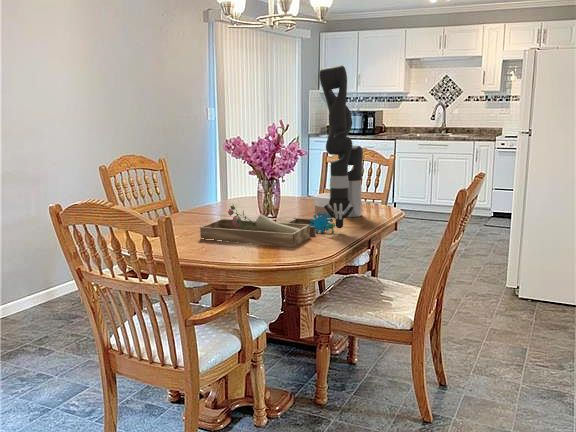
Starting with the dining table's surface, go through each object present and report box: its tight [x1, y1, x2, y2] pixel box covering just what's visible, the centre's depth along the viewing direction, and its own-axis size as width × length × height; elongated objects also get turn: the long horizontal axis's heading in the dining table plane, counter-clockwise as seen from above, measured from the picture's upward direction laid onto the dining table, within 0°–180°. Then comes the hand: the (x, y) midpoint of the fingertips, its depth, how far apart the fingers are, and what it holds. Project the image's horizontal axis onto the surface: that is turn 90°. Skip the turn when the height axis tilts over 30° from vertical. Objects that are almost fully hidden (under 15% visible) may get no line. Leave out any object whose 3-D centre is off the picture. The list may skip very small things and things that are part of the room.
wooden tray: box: [199, 218, 311, 248], centre depth 230 cm, size 18×40×5 cm, turn 68°
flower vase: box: [227, 204, 299, 233], centre depth 232 cm, size 12×12×35 cm
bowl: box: [314, 192, 334, 216], centre depth 285 cm, size 17×17×8 cm
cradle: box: [285, 217, 316, 236], centre depth 243 cm, size 16×14×4 cm
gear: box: [309, 213, 336, 234], centre depth 241 cm, size 11×6×10 cm
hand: (339, 227), depth 237 cm, fingers closed
